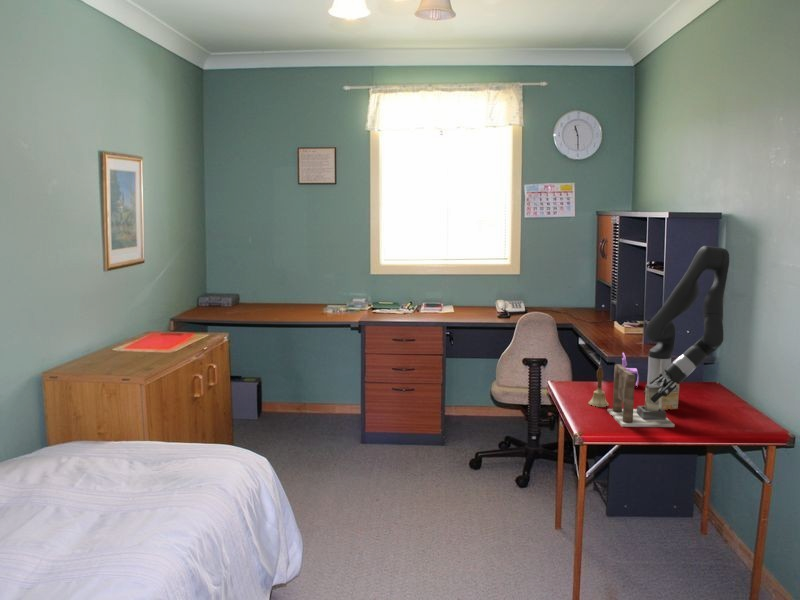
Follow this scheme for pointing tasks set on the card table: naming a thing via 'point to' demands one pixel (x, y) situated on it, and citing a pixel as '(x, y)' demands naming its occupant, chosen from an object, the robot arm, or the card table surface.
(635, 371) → the toy chair
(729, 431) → the card table surface
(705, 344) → the robot arm
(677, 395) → the supplement box
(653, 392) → the rail post
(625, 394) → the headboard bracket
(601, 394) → the hand bell
